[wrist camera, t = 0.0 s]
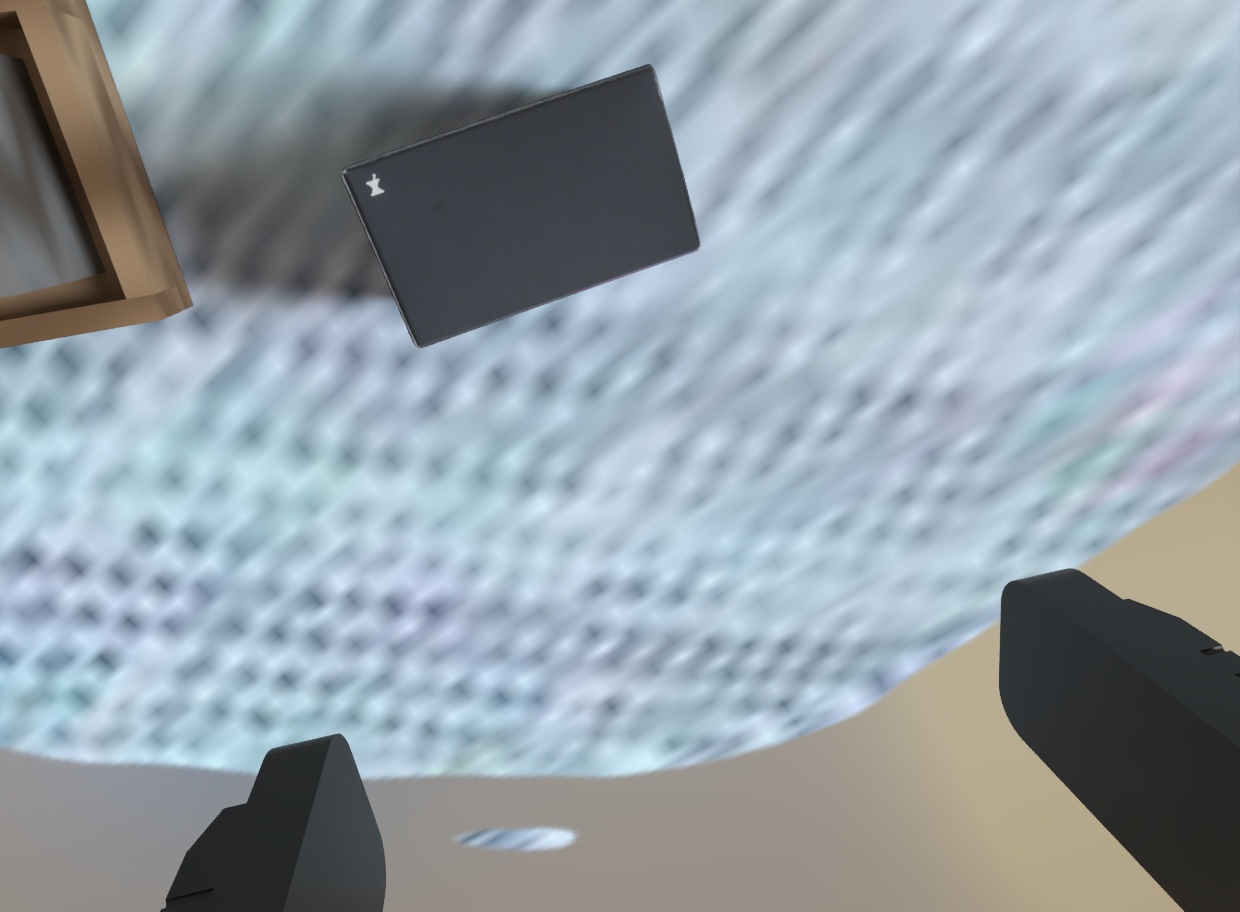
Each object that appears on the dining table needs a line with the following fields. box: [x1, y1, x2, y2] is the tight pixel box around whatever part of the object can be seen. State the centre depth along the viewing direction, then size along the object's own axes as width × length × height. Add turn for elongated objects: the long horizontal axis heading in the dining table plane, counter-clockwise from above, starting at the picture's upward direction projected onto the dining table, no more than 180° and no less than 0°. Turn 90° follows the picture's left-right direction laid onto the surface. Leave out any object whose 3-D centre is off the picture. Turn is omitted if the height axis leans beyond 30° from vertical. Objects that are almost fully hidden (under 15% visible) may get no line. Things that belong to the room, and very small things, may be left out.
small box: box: [341, 64, 700, 348], centre depth 30 cm, size 11×6×10 cm, turn 108°
